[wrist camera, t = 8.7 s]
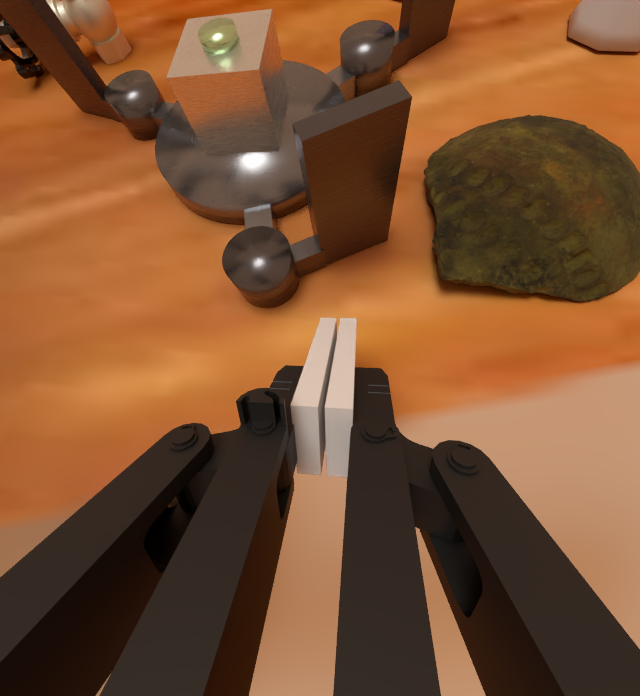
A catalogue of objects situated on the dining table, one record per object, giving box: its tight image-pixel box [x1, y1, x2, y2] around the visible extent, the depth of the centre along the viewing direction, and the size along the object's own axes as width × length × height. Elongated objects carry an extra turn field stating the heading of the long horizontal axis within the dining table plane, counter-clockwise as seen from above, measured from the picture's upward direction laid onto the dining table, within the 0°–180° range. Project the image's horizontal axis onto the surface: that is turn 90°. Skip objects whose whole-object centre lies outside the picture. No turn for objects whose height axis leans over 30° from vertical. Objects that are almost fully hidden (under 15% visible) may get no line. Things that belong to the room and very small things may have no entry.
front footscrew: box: [222, 81, 412, 308], centre depth 16 cm, size 11×4×9 cm, turn 111°
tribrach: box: [0, 0, 455, 230], centre depth 21 cm, size 36×25×9 cm
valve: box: [0, 0, 132, 79], centre depth 29 cm, size 7×7×12 cm
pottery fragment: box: [424, 115, 640, 301], centre depth 18 cm, size 14×14×4 cm
